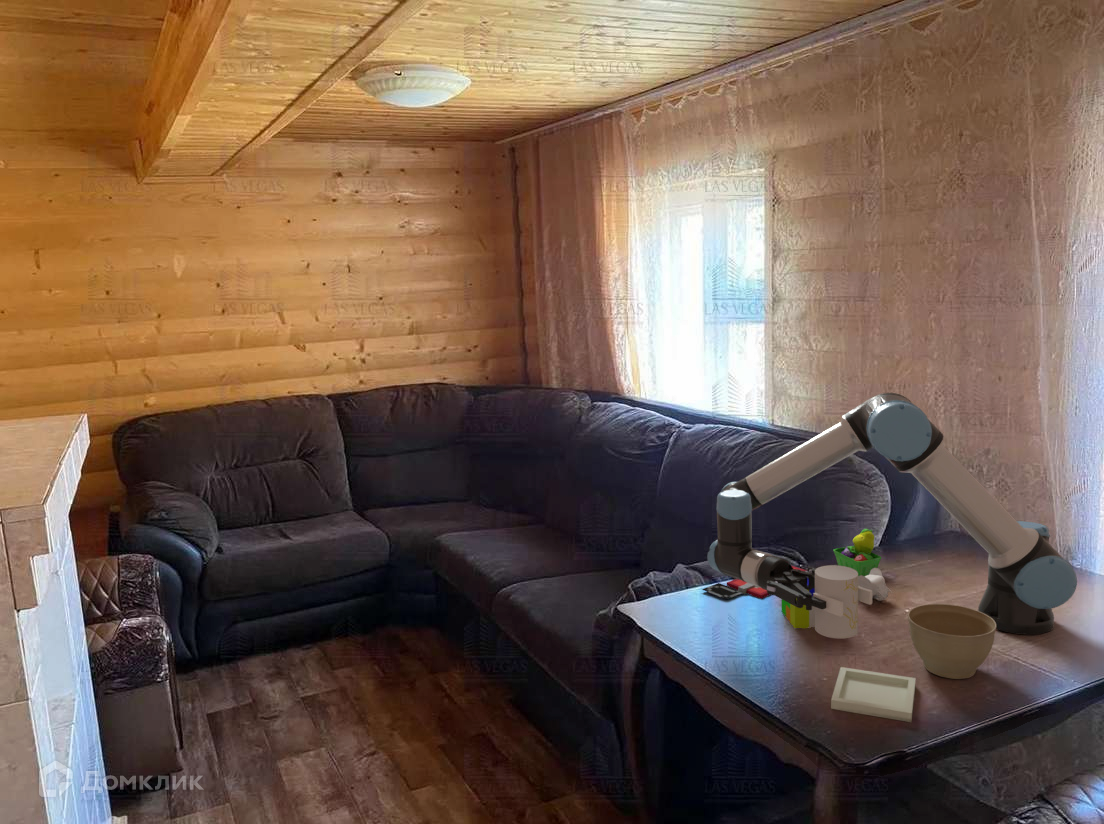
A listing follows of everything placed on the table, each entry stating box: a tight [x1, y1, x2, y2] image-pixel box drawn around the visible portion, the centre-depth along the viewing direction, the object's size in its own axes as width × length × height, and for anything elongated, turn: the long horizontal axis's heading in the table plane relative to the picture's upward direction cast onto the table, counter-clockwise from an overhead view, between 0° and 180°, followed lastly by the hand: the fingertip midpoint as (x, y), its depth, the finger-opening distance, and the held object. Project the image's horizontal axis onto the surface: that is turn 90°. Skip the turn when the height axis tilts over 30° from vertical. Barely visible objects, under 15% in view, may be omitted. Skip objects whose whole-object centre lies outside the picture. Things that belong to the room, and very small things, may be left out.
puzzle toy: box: [781, 571, 815, 629], centre depth 200 cm, size 10×10×10 cm
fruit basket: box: [833, 528, 882, 577], centre depth 228 cm, size 11×9×11 cm
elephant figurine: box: [858, 568, 894, 602], centre depth 209 cm, size 8×10×7 cm
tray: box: [830, 666, 917, 723], centre depth 164 cm, size 14×14×2 cm
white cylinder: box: [814, 564, 859, 640], centre depth 170 cm, size 8×8×12 cm
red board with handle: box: [701, 565, 807, 600], centre depth 224 cm, size 30×3×15 cm
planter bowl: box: [907, 603, 997, 680], centre depth 173 cm, size 16×16×11 cm
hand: (856, 603), depth 165 cm, fingers closed on white cylinder, 8 cm apart
